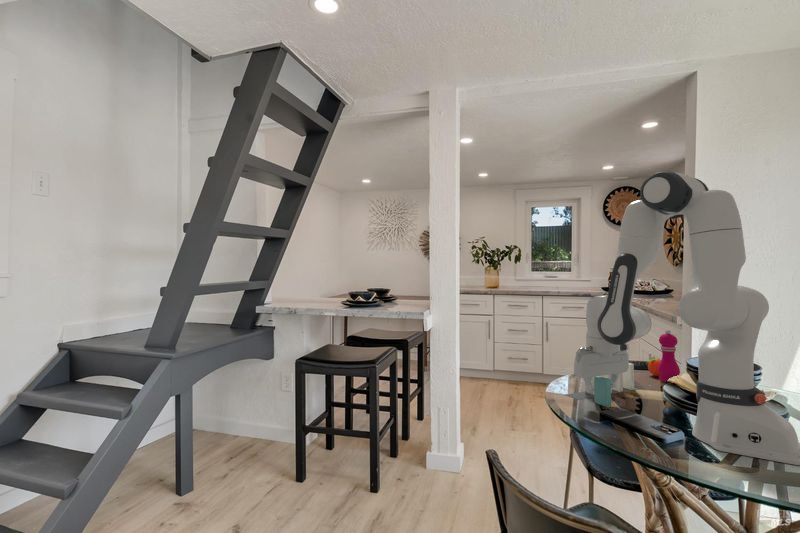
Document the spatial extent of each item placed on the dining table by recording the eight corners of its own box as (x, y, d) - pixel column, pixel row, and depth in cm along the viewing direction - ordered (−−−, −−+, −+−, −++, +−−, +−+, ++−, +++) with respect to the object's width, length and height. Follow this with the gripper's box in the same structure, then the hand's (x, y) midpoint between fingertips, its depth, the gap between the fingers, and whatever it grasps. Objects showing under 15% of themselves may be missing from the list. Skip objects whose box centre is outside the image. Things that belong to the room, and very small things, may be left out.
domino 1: (588, 391, 146) (587, 365, 146) (600, 395, 142) (599, 368, 142) (585, 391, 146) (584, 366, 146) (596, 395, 141) (596, 369, 141)
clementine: (651, 378, 164) (651, 360, 164) (641, 374, 171) (641, 356, 171) (672, 378, 164) (671, 360, 164) (661, 374, 171) (661, 356, 171)
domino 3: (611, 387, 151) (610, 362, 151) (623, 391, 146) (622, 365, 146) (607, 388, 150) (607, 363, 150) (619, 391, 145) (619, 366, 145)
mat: (624, 386, 154) (624, 384, 154) (639, 390, 148) (639, 389, 148) (564, 396, 143) (564, 394, 143) (577, 401, 137) (577, 399, 137)
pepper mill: (680, 385, 154) (679, 331, 154) (657, 383, 158) (656, 330, 158) (679, 381, 160) (678, 329, 160) (657, 378, 164) (656, 328, 164)
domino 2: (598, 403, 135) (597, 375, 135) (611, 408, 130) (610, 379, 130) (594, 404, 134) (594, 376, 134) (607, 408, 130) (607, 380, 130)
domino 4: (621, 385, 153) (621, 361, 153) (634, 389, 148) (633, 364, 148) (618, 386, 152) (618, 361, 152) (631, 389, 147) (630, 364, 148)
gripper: (584, 350, 126) (584, 395, 126) (632, 344, 133) (632, 387, 134) (568, 346, 132) (569, 389, 132) (615, 341, 139) (615, 382, 139)
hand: (601, 388), depth 133 cm, fingers open, 8 cm apart
